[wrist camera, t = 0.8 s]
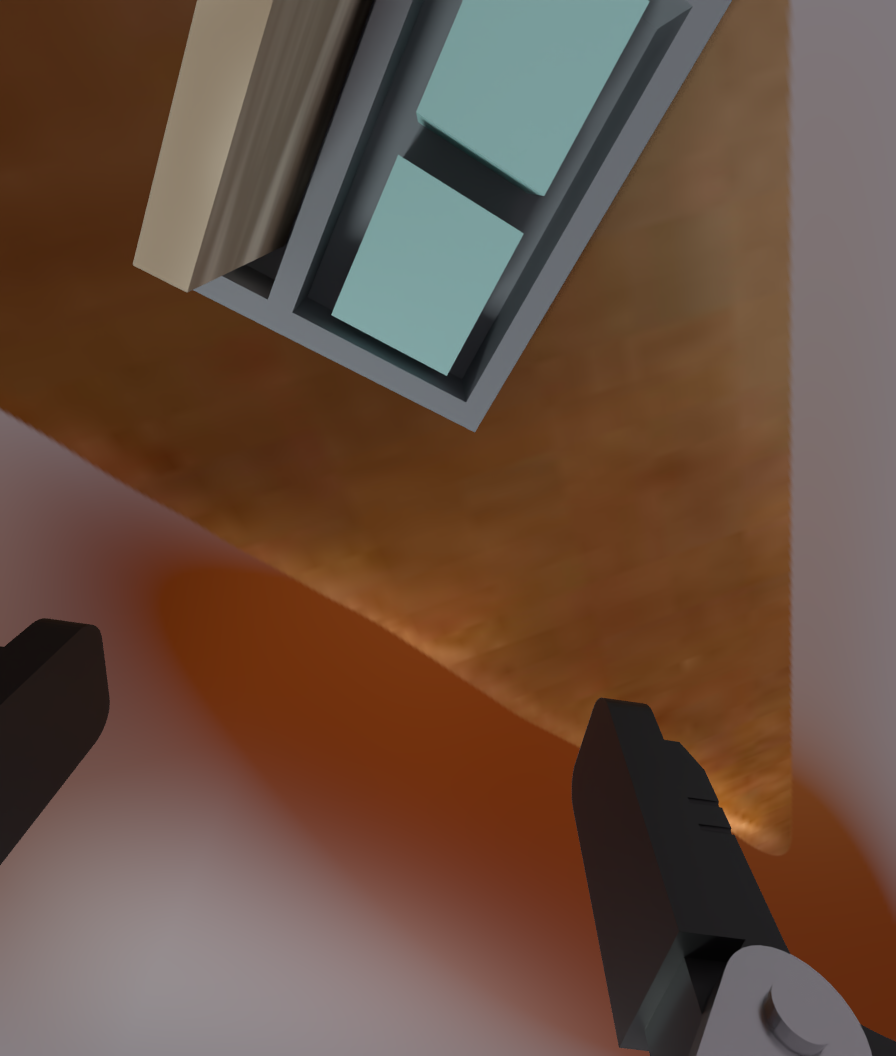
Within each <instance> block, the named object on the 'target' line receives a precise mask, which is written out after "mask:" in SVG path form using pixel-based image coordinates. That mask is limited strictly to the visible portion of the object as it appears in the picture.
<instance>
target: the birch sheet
mask: <svg viewBox="0 0 896 1056" xmlns="http://www.w3.org/2000/svg"><path fill="white" fill-rule="evenodd" d="M372 2H373V0H197V4H196V8H195V12H194V16H193V20H192V24H191V28H190V32H189V36H188V40H187V45H186V49H185V53H184V57H183V61H182V65H181V69H180V73H179V77H178V81H177V86H176V90H175V94H174V98H173V102H172V106H171V110H170V114H169V118H168V122H167V126H166V131H165V135H164V139H163V143H162V147H161V151H160V155H159V159H158V163H157V167H156V172H155V176H154V180H153V184H152V188H151V192H150V196H149V200H148V204H147V208H146V213H145V217H144V221H143V225H142V229H141V233H140V237H139V241H138V245H137V249H136V253H135V258H134V262H133V266H135V267H137V268H139V269H141V270H143V271H145V272H147V273H149V274H151V275H153V276H155V277H157V278H159V279H161V280H163V281H165V282H167V283H169V284H171V285H173V286H175V287H177V288H179V289H181V290H183V291H185V292H189V291H191V290H193V289H196V288H198V287H200V286H202V285H204V284H206V283H208V282H210V281H212V280H214V279H216V278H218V277H220V276H222V275H225V274H227V273H229V272H231V271H233V270H235V269H237V268H239V267H241V266H243V265H245V264H247V263H249V262H252V261H254V260H256V259H258V258H260V257H262V256H264V255H266V254H268V253H270V252H272V251H274V250H276V249H279V248H281V247H283V246H285V244H286V241H287V238H288V236H289V233H290V230H291V227H292V225H293V222H294V219H295V216H296V213H297V211H298V208H299V205H300V202H301V200H302V197H303V194H304V191H305V188H306V186H307V183H308V180H309V177H310V175H311V172H312V169H313V166H314V163H315V161H316V158H317V155H318V152H319V150H320V147H321V144H322V141H323V138H324V136H325V133H326V130H327V127H328V125H329V122H330V119H331V116H332V113H333V111H334V108H335V105H336V102H337V99H338V97H339V94H340V91H341V88H342V86H343V83H344V80H345V77H346V74H347V72H348V69H349V66H350V63H351V61H352V58H353V55H354V52H355V49H356V47H357V44H358V41H359V38H360V36H361V33H362V30H363V27H364V24H365V22H366V19H367V16H368V13H369V11H370V8H371V5H372Z"/></svg>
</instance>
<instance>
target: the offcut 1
mask: <svg viewBox="0 0 896 1056" xmlns="http://www.w3.org/2000/svg"><path fill="white" fill-rule="evenodd" d="M523 234H524V233H522V232H521V231H519V230H517V229H516V228H514V227H513V226H511V225H509V224H508V223H506V222H505V221H503V220H501V219H500V218H498V217H497V216H495V215H493V214H492V213H490V212H489V211H487V210H486V209H484V208H482V207H481V206H479V205H478V204H476V203H474V202H473V201H471V200H470V199H468V198H466V197H465V196H463V195H462V194H460V193H458V192H457V191H455V190H454V189H452V188H450V187H449V186H447V185H446V184H444V183H443V182H441V181H439V180H438V179H436V178H435V177H433V176H431V175H430V174H428V173H427V172H425V171H423V170H422V169H420V168H419V167H417V166H415V165H414V164H412V163H411V162H409V161H408V160H406V159H404V158H403V157H401V156H400V155H398V156H397V159H396V161H395V164H394V166H393V168H392V171H391V173H390V176H389V178H388V180H387V183H386V185H385V187H384V190H383V192H382V195H381V197H380V199H379V202H378V204H377V207H376V209H375V211H374V214H373V216H372V219H371V221H370V223H369V226H368V228H367V230H366V233H365V235H364V238H363V240H362V242H361V245H360V247H359V250H358V252H357V254H356V257H355V259H354V262H353V264H352V266H351V269H350V271H349V273H348V276H347V278H346V281H345V283H344V285H343V288H342V290H341V293H340V295H339V297H338V300H337V302H336V304H335V307H334V309H333V312H332V314H331V315H332V316H334V317H336V318H338V319H340V320H342V321H344V322H345V323H347V324H349V325H351V326H353V327H355V328H357V329H359V330H361V331H362V332H364V333H366V334H368V335H370V336H372V337H374V338H376V339H378V340H380V341H381V342H383V343H385V344H387V345H389V346H391V347H393V348H395V349H397V350H399V351H400V352H402V353H404V354H406V355H408V356H410V357H412V358H414V359H416V360H417V361H419V362H421V363H423V364H425V365H427V366H429V367H431V368H433V369H435V370H436V371H438V372H440V373H442V374H444V375H446V376H447V375H448V373H449V371H450V369H451V367H452V365H453V363H454V362H455V360H456V358H457V356H458V354H459V352H460V351H461V349H462V347H463V345H464V343H465V341H466V339H467V338H468V336H469V334H470V332H471V330H472V328H473V327H474V325H475V323H476V321H477V319H478V317H479V316H480V314H481V312H482V310H483V308H484V306H485V304H486V303H487V301H488V299H489V297H490V295H491V293H492V292H493V290H494V288H495V286H496V284H497V282H498V280H499V279H500V277H501V275H502V273H503V271H504V269H505V268H506V266H507V264H508V262H509V260H510V258H511V256H512V255H513V253H514V251H515V249H516V247H517V245H518V244H519V242H520V240H521V238H522V236H523Z"/></svg>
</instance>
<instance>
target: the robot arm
mask: <svg viewBox="0 0 896 1056" xmlns="http://www.w3.org/2000/svg"><path fill="white" fill-rule="evenodd" d="M109 703H110V700H109V691H108V683H107V675H106V667H105V659H104V651H103V642H102V636H101V633H100V630H99V629H98V628H97V627H96V626H94V625H90V624H83V623H75V622H68V621H61V620H54V619H45V618H44V619H39V620H37V621H35V622H34V623H32V624H31V625H30V626H29V627H27V628H26V629H25V630H24V631H23V632H22V633H20V634H19V635H18V636H17V637H15V638H14V639H13V640H12V641H11V642H9V643H8V644H7V645H6V646H5V647H0V865H1V863H2V862H3V861H4V860H5V858H6V857H7V856H8V854H9V853H10V852H11V851H12V849H13V848H14V847H15V845H16V844H17V843H18V842H19V840H20V839H21V838H22V836H23V835H24V834H25V833H26V831H27V830H28V829H29V827H30V826H31V825H32V824H33V822H34V821H35V820H36V818H37V817H38V816H39V815H40V813H41V812H42V811H43V809H44V808H45V807H46V806H47V804H48V803H49V802H50V800H51V799H52V798H53V797H54V795H55V794H56V793H57V791H58V790H59V789H60V788H61V786H62V785H63V784H64V782H65V781H66V779H68V777H69V776H70V774H71V773H72V772H73V771H74V770H75V768H76V767H77V766H78V764H79V763H80V762H81V760H82V759H83V758H84V757H85V755H86V754H87V753H88V751H89V750H90V749H91V748H92V746H93V745H94V744H95V742H96V741H97V740H98V738H99V736H100V735H101V733H102V731H103V728H104V726H105V723H106V720H107V717H108V713H109V705H110V704H109ZM572 803H573V810H574V815H575V820H576V825H577V831H578V836H579V841H580V847H581V852H582V856H583V862H584V867H585V872H586V878H587V882H588V888H589V893H590V899H591V904H592V909H593V914H594V919H595V925H596V930H597V935H598V940H599V945H600V951H601V956H602V961H603V966H604V971H605V976H606V981H607V987H608V992H609V997H610V1003H611V1008H612V1013H613V1018H614V1023H615V1029H616V1034H617V1039H618V1044H619V1047H620V1048H627V1049H636V1050H644V1051H649V1053H650V1056H896V1042H895V1041H893V1040H891V1039H889V1038H886V1037H884V1036H882V1035H880V1034H878V1033H876V1032H874V1031H872V1030H870V1029H868V1028H866V1027H864V1026H863V1025H861V1024H860V1023H859V1022H858V1020H857V1018H856V1017H855V1015H854V1013H853V1012H852V1010H851V1009H850V1007H849V1006H848V1005H847V1003H846V1002H845V1001H844V1000H843V998H842V997H841V995H840V994H839V993H838V992H837V991H836V990H835V989H834V988H833V987H832V985H831V984H830V983H828V981H826V980H825V979H824V978H823V977H822V976H821V975H820V974H819V973H818V972H816V971H815V970H814V969H813V968H811V967H810V966H809V965H807V964H806V963H804V962H802V961H801V960H799V959H798V958H796V957H795V956H792V955H791V954H790V952H789V950H788V948H787V946H786V945H785V943H784V941H783V938H782V936H781V934H780V932H779V930H778V928H777V926H776V923H775V921H774V919H773V917H772V915H771V913H770V910H769V908H768V906H767V904H766V902H765V900H764V898H763V895H762V893H761V891H760V889H759V887H758V885H757V883H756V880H755V878H754V876H753V874H752V872H751V870H750V868H749V865H748V863H747V861H746V859H745V857H744V854H743V852H742V850H741V848H740V846H739V844H738V842H737V840H736V837H735V835H732V834H731V826H730V824H729V822H728V820H727V818H726V816H725V814H724V811H723V809H722V808H720V807H719V805H718V803H719V801H718V799H717V796H716V794H715V792H714V790H713V788H712V786H711V783H710V781H709V779H708V777H707V775H706V773H705V771H704V769H703V768H702V767H701V766H700V765H699V764H698V763H697V761H696V760H695V759H694V758H693V757H692V756H691V755H690V754H689V752H688V751H687V750H686V749H685V748H684V747H683V746H682V745H681V744H680V742H675V741H668V740H664V739H663V736H662V734H661V732H660V729H659V727H658V724H657V722H656V719H655V717H654V714H653V712H652V710H651V708H650V707H649V706H648V705H647V704H643V703H635V702H628V701H621V700H614V699H607V698H599V699H598V700H597V702H596V703H595V705H594V708H593V711H592V714H591V717H590V720H589V723H588V726H587V729H586V732H585V735H584V738H583V741H582V745H581V748H580V751H579V754H578V757H577V760H576V763H575V766H574V771H573V778H572Z"/></svg>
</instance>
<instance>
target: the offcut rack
mask: <svg viewBox="0 0 896 1056" xmlns="http://www.w3.org/2000/svg"><path fill="white" fill-rule="evenodd" d="M462 1H463V0H373V2H372V5H371V8H370V11H369V13H368V16H367V19H366V22H365V24H364V27H363V30H362V33H361V36H360V38H359V41H358V44H357V47H356V49H355V52H354V55H353V58H352V61H351V63H350V66H349V69H348V72H347V74H346V77H345V80H344V83H343V86H342V88H341V91H340V94H339V97H338V99H337V102H336V105H335V108H334V111H333V113H332V116H331V119H330V122H329V125H328V127H327V130H326V133H325V136H324V138H323V141H322V144H321V147H320V150H319V152H318V155H317V158H316V161H315V163H314V166H313V169H312V172H311V175H310V177H309V180H308V183H307V186H306V188H305V191H304V194H303V197H302V200H301V202H300V205H299V208H298V211H297V213H296V216H295V219H294V222H293V225H292V227H291V230H290V233H289V236H288V238H287V241H286V244H285V246H283V247H281V248H279V249H276V250H274V251H272V252H270V253H268V254H266V255H264V256H262V257H260V258H258V259H256V260H254V261H252V262H249V263H247V264H245V265H243V266H241V267H239V268H237V269H235V270H233V271H231V272H229V273H227V274H225V275H222V276H220V277H218V278H216V279H214V280H212V281H210V282H208V283H206V284H204V285H202V286H200V287H198V288H196V289H193V290H194V291H196V292H198V293H200V294H202V295H204V296H206V297H208V298H210V299H212V300H214V301H216V302H218V303H220V304H222V305H224V306H226V307H228V308H230V309H232V310H234V311H236V312H238V313H240V314H242V315H244V316H246V317H248V318H250V319H252V320H254V321H256V322H258V323H259V324H261V325H263V326H265V327H267V328H269V329H271V330H273V331H275V332H277V333H279V334H281V335H283V336H285V337H287V338H289V339H291V340H293V341H295V342H297V343H299V344H301V345H303V346H305V347H307V348H309V349H311V350H313V351H315V352H317V353H319V354H321V355H323V356H325V357H327V358H329V359H331V360H333V361H335V362H337V363H339V364H341V365H343V366H345V367H347V368H349V369H351V370H353V371H355V372H356V373H358V374H360V375H362V376H364V377H366V378H368V379H370V380H372V381H374V382H376V383H378V384H380V385H382V386H384V387H386V388H388V389H390V390H392V391H394V392H396V393H398V394H400V395H402V396H404V397H406V398H408V399H410V400H412V401H414V402H416V403H418V404H420V405H422V406H424V407H426V408H428V409H430V410H432V411H434V412H436V413H438V414H440V415H442V416H444V417H446V418H448V419H450V420H452V421H453V422H455V423H457V424H459V425H461V426H463V427H465V428H467V429H469V430H471V431H473V432H475V431H476V429H477V427H478V426H479V424H480V422H481V421H482V419H483V417H484V416H485V414H486V412H487V411H488V409H489V407H490V406H491V404H492V402H493V401H494V399H495V397H496V396H497V394H498V392H499V391H500V389H501V387H502V386H503V384H504V382H505V380H506V379H507V377H508V375H509V374H510V372H511V370H512V369H513V367H514V365H515V364H516V362H517V360H518V359H519V357H520V355H521V354H522V352H523V350H524V349H525V347H526V345H527V344H528V342H529V340H530V338H531V337H532V335H533V333H534V332H535V330H536V328H537V327H538V325H539V323H540V322H541V320H542V318H543V317H544V315H545V313H546V312H547V310H548V308H549V307H550V305H551V303H552V302H553V300H554V298H555V297H556V295H557V293H558V291H559V290H560V288H561V286H562V285H563V283H564V281H565V280H566V278H567V276H568V275H569V273H570V271H571V270H572V268H573V266H574V265H575V263H576V261H577V260H578V258H579V256H580V255H581V253H582V251H583V250H584V248H585V246H586V244H587V243H588V241H589V239H590V238H591V236H592V234H593V233H594V231H595V229H596V228H597V226H598V224H599V223H600V221H601V219H602V218H603V216H604V214H605V213H606V211H607V209H608V208H609V206H610V204H611V203H612V201H613V199H614V197H615V196H616V194H617V192H618V191H619V189H620V187H621V186H622V184H623V182H624V181H625V179H626V177H627V176H628V174H629V172H630V171H631V169H632V167H633V166H634V164H635V162H636V161H637V159H638V157H639V156H640V154H641V152H642V150H643V149H644V147H645V145H646V144H647V142H648V140H649V139H650V137H651V135H652V134H653V132H654V130H655V129H656V127H657V125H658V124H659V122H660V120H661V119H662V117H663V115H664V114H665V112H666V110H667V109H668V107H669V105H670V103H671V102H672V100H673V98H674V97H675V95H676V93H677V92H678V90H679V88H680V87H681V85H682V83H683V82H684V80H685V78H686V77H687V75H688V73H689V72H690V70H691V68H692V67H693V65H694V63H695V62H696V60H697V58H698V56H699V55H700V53H701V51H702V50H703V48H704V46H705V45H706V43H707V41H708V40H709V38H710V36H711V35H712V33H713V31H714V30H715V28H716V26H717V25H718V23H719V21H720V20H721V18H722V16H723V15H724V13H725V11H726V9H727V8H728V6H729V4H730V3H731V1H732V0H648V1H650V2H649V4H648V6H647V7H646V9H645V11H644V13H643V15H642V17H641V18H640V20H639V22H638V24H637V26H636V28H635V30H634V31H633V33H632V35H631V37H630V39H629V41H628V42H627V44H626V46H625V48H624V50H623V52H622V54H621V55H620V57H619V59H618V61H617V63H616V65H615V66H614V68H613V70H612V72H611V74H610V76H609V78H608V79H607V81H606V83H605V85H604V87H603V89H602V90H601V92H600V94H599V96H598V98H597V100H596V102H595V103H594V105H593V107H592V109H591V111H590V113H589V114H588V116H587V118H586V120H585V122H584V124H583V125H582V127H581V129H580V131H579V133H578V135H577V137H576V138H575V140H574V142H573V144H572V146H571V148H570V149H569V151H568V153H567V155H566V157H565V159H564V161H563V162H562V164H561V166H560V168H559V170H558V172H557V173H556V175H555V177H554V179H553V181H552V183H551V185H550V186H549V188H548V190H547V192H546V194H545V196H542V195H535V194H529V193H526V192H524V191H523V190H521V189H520V188H518V187H517V186H515V185H514V184H512V183H511V182H509V181H508V180H506V179H504V178H503V177H501V176H500V175H498V174H497V173H495V172H494V171H492V170H491V169H489V168H488V167H486V166H485V165H483V164H481V163H480V162H478V161H477V160H475V159H474V158H472V157H471V156H469V155H468V154H466V153H465V152H463V151H461V150H460V149H458V148H457V147H455V146H454V145H452V144H451V143H449V142H448V141H446V140H445V139H443V138H442V137H440V136H438V135H437V134H435V133H434V132H432V131H431V130H429V129H428V128H426V127H425V126H423V125H422V124H420V123H419V122H418V119H417V114H416V111H417V109H418V106H419V104H420V102H421V99H422V97H423V94H424V92H425V90H426V87H427V85H428V82H429V80H430V78H431V75H432V73H433V70H434V68H435V66H436V63H437V61H438V59H439V56H440V54H441V51H442V49H443V47H444V44H445V42H446V39H447V37H448V35H449V32H450V30H451V27H452V25H453V23H454V20H455V18H456V16H457V13H458V11H459V8H460V6H461V4H462ZM398 155H400V156H401V157H403V158H404V159H406V160H408V161H409V162H411V163H412V164H414V165H415V166H417V167H419V168H420V169H422V170H423V171H425V172H427V173H428V174H430V175H431V176H433V177H435V178H436V179H438V180H439V181H441V182H443V183H444V184H446V185H447V186H449V187H450V188H452V189H454V190H455V191H457V192H458V193H460V194H462V195H463V196H465V197H466V198H468V199H470V200H471V201H473V202H474V203H476V204H478V205H479V206H481V207H482V208H484V209H486V210H487V211H489V212H490V213H492V214H493V215H495V216H497V217H498V218H500V219H501V220H503V221H505V222H506V223H508V224H509V225H511V226H513V227H514V228H516V229H517V230H519V231H521V232H522V233H524V234H523V236H522V238H521V240H520V242H519V244H518V245H517V247H516V249H515V251H514V253H513V255H512V256H511V258H510V260H509V262H508V264H507V266H506V268H505V269H504V271H503V273H502V275H501V277H500V279H499V280H498V282H497V284H496V286H495V288H494V290H493V292H492V293H491V295H490V297H489V299H488V301H487V303H486V304H485V306H484V308H483V310H482V312H481V314H480V316H479V317H478V319H477V321H476V323H475V325H474V327H473V328H472V330H471V332H470V334H469V336H468V338H467V339H466V341H465V343H464V345H463V347H462V349H461V351H460V352H459V354H458V356H457V358H456V360H455V362H454V363H453V365H452V367H451V369H450V371H449V373H448V375H447V376H446V375H444V374H442V373H440V372H438V371H436V370H435V369H433V368H431V367H429V366H427V365H425V364H423V363H421V362H419V361H417V360H416V359H414V358H412V357H410V356H408V355H406V354H404V353H402V352H400V351H399V350H397V349H395V348H393V347H391V346H389V345H387V344H385V343H383V342H381V341H380V340H378V339H376V338H374V337H372V336H370V335H368V334H366V333H364V332H362V331H361V330H359V329H357V328H355V327H353V326H351V325H349V324H347V323H345V322H344V321H342V320H340V319H338V318H336V317H334V316H332V315H331V314H332V312H333V309H334V307H335V304H336V302H337V300H338V297H339V295H340V293H341V290H342V288H343V285H344V283H345V281H346V278H347V276H348V273H349V271H350V269H351V266H352V264H353V262H354V259H355V257H356V254H357V252H358V250H359V247H360V245H361V242H362V240H363V238H364V235H365V233H366V230H367V228H368V226H369V223H370V221H371V219H372V216H373V214H374V211H375V209H376V207H377V204H378V202H379V199H380V197H381V195H382V192H383V190H384V187H385V185H386V183H387V180H388V178H389V176H390V173H391V171H392V168H393V166H394V164H395V161H396V159H397V156H398Z"/></svg>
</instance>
